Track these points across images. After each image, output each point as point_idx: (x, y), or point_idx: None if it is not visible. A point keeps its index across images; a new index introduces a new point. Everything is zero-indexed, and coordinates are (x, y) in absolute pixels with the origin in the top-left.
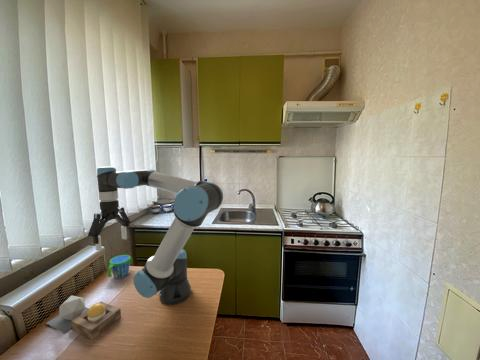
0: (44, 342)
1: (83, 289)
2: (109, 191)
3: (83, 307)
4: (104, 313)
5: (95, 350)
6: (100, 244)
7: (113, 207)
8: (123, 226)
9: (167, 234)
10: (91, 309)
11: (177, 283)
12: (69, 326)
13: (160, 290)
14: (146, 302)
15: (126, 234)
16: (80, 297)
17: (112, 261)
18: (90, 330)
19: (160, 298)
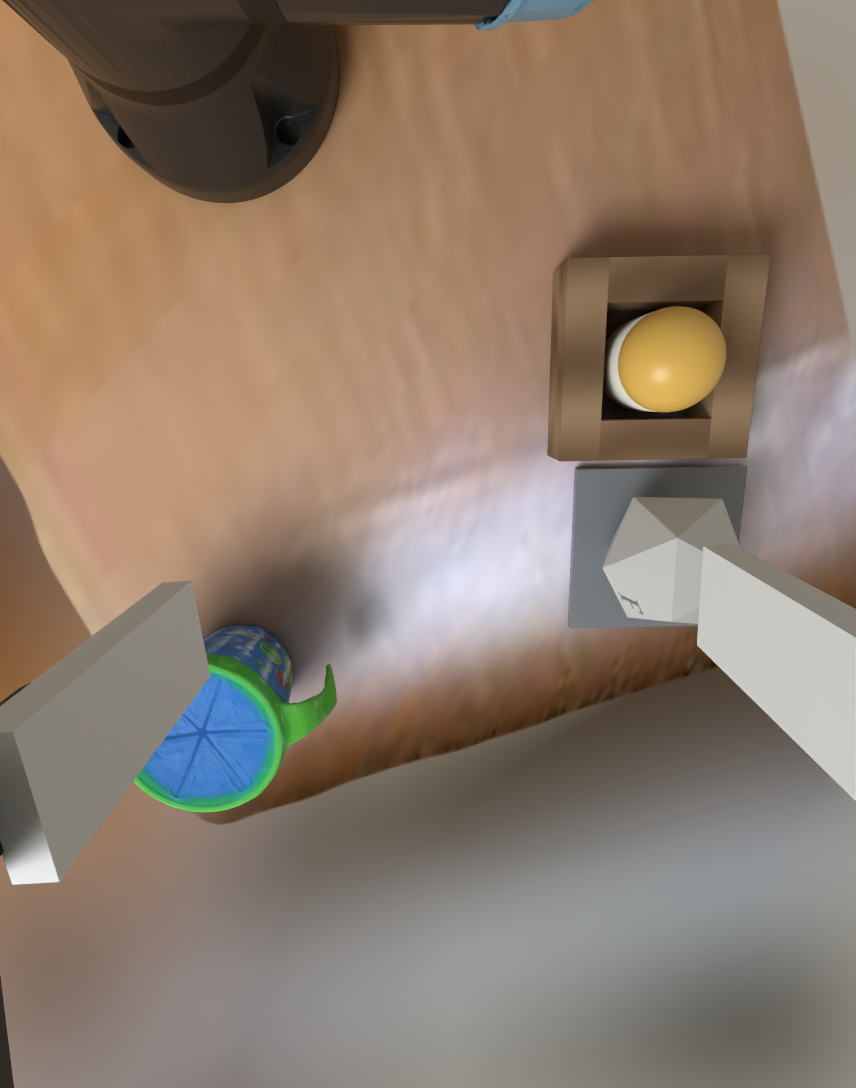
0: (810, 497)
1: (456, 738)
2: None
3: (648, 501)
4: (643, 315)
5: (784, 177)
6: (790, 582)
7: None
8: (18, 809)
9: None
10: (721, 356)
11: None
12: (711, 483)
13: (271, 161)
14: (383, 224)
15: (123, 620)
16: (629, 577)
17: (253, 765)
18: (765, 268)
19: (326, 117)
